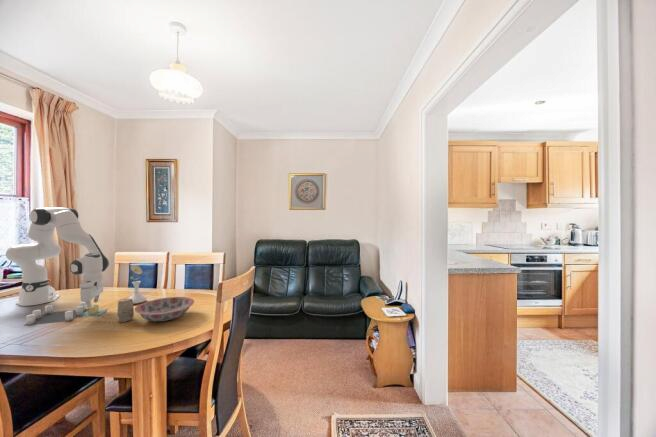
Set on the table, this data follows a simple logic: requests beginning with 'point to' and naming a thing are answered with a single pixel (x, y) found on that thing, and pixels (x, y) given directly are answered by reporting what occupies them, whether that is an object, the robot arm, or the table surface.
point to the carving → (125, 310)
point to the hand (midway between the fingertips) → (92, 304)
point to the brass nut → (93, 309)
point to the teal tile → (93, 314)
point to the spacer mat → (54, 315)
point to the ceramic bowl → (164, 308)
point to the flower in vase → (136, 287)
